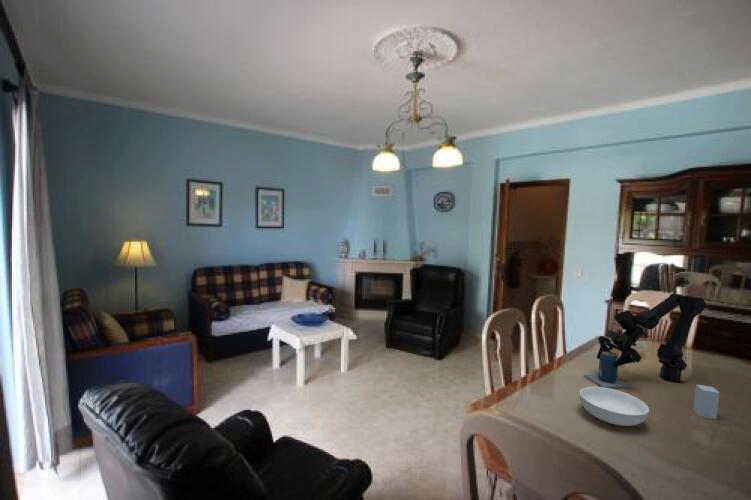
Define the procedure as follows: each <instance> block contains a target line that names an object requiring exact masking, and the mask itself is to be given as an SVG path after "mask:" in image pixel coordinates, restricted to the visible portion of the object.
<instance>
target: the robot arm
mask: <svg viewBox="0 0 751 500" xmlns="http://www.w3.org/2000/svg"><path fill="white" fill-rule="evenodd" d="M706 305H707V303H706V301H705V299H704V298H703V297H700V296H694V295H690V294H685V295H683V294H679V293H674V292H673V293H671V294H670V295H669V296H668V297H666V298H665V299H664V300H662V301H660V303H658V304H656V305H655V306H653V307H652V308H651V309H648V310H643V311H640V312H638V313H637V314H635V315H633V314H632V312H631V311H630V310H628V309H627V310H626V309H625V310H624V311H620V312H619V313H616V314H615V316H614V321H616V323H617V324H618V325H619V326H620V327H621V328H622V330H624V331H623V332H616V331H613V330H611V329H608V330H607V332H606V334H605V336H604V335H600V336H599V337H598V338H597V341H598V344H599V346H600V347H599V350H598V352H597V355H596V359H598V360H600V355H601V353H602V352H603V351H608V352H612V351H611V350H613V349H615V350H617V351H619V352H621V354H620V355H619V357H618V359H617V360H616V362H615V363H614V364H613V367H617V366H618V367H620V366H623V365H627V364H634V363H639V362H641V360H642V356H641V354H640V353H639V352H638V351H637V350H636V349H635V348H633V347H636V346H637V344H636V343H637V341H638V340H639V339H641V338H642V337H643V338H647V337H648V334H647V330H649V331H651V330H653V329H655V327H657V326H658V325H659V324H660V321H661V318H663V317H665V316H666V315H667V314H669V313H671V312H672V311H673V310H674V309H676V308H678V307H679V312H680V314H679V316H678V318H677V320H676V321H675V325H674V327H673V330H672V331H671V334H670V337H669V338H668V341H667V342H665V343H660V344H659V347H658V349H657V350H656V352H657V354H656V356H657V357H658V363H660V364H661V367H660V371H659V373H660V374H659V377H660V378H661V379H663V380H664V381H665V382H670V383H671V382H673V383H682V384H683V382H684V381H682V379H681V378H682V372H683V371H684V370H686V368H687V366H688V364H686V362H685V361H684V360H683V357H684V353H683V348H682V346H683V345H684V342H685V340H686V338H687V334H688V333H689V331H690V328H691V326H692V323H693V322H694V320H695V317H697V316H699V315H701V314H702V313H703V310H705V308H706ZM644 329H645V330H644Z"/></svg>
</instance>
